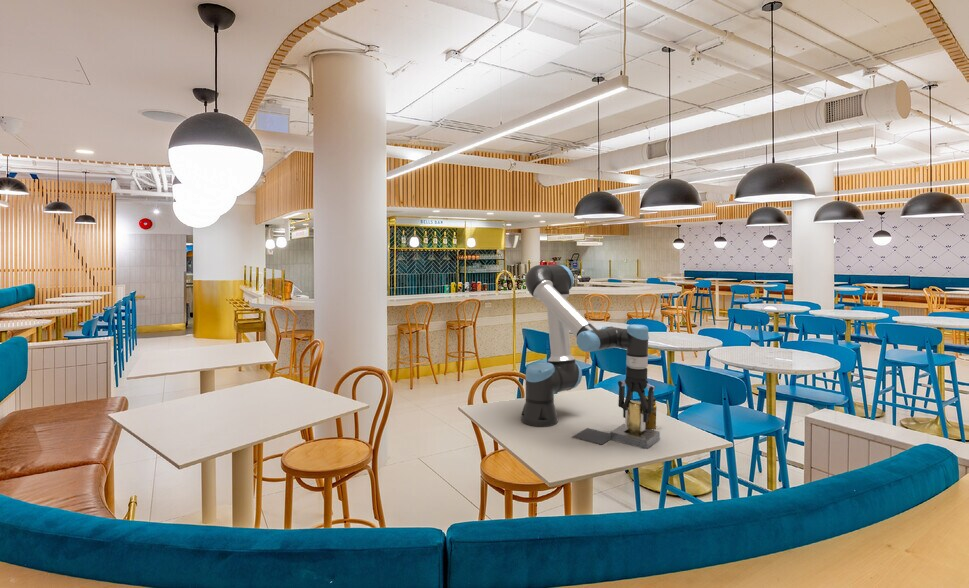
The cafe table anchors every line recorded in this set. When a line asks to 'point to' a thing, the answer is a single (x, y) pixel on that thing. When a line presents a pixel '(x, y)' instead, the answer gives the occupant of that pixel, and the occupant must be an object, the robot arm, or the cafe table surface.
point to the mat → (593, 436)
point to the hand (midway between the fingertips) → (635, 428)
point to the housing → (635, 437)
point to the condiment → (651, 417)
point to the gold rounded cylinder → (634, 417)
